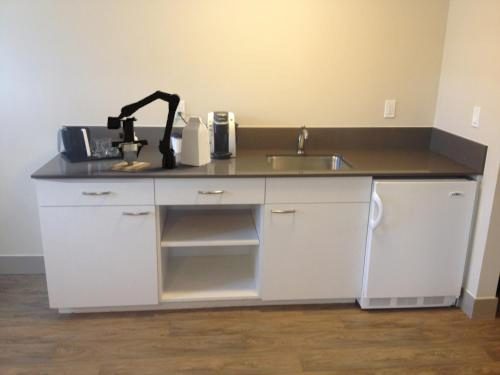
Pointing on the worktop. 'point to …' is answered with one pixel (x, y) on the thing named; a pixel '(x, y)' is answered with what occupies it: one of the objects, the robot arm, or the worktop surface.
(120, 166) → the base
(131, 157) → the cap
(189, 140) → the milk
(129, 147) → the pill bottle
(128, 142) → the robot arm
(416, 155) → the worktop surface
